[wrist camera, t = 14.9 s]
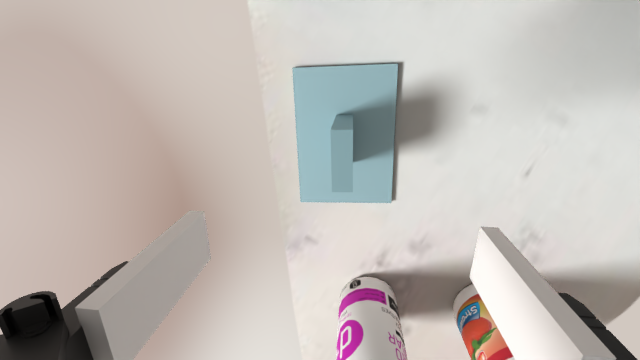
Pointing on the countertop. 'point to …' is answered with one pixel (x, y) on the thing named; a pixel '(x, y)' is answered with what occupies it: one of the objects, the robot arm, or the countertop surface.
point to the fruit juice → (479, 327)
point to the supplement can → (369, 322)
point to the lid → (345, 132)
